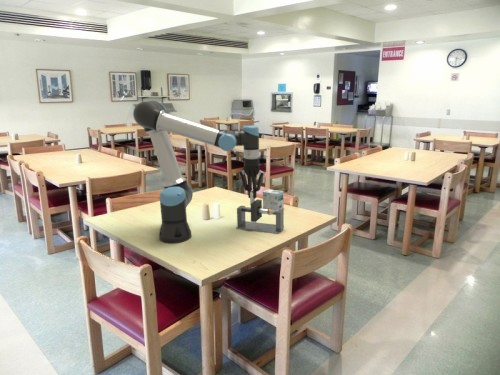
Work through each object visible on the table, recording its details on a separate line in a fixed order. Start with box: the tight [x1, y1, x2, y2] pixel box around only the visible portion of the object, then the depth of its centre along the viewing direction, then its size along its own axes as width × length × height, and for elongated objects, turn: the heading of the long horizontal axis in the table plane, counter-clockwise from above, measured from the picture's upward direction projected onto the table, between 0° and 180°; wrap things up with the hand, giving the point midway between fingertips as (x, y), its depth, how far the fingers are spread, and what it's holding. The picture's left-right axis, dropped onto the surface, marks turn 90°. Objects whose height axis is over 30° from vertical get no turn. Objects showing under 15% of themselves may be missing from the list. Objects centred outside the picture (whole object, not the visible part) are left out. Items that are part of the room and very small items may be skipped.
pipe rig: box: [236, 205, 285, 235], centre depth 187 cm, size 23×10×10 cm, turn 68°
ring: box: [250, 198, 263, 222], centre depth 186 cm, size 2×9×9 cm, turn 158°
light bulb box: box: [262, 188, 285, 210], centre depth 218 cm, size 11×7×11 cm, turn 58°
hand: (252, 204), depth 186 cm, fingers closed
